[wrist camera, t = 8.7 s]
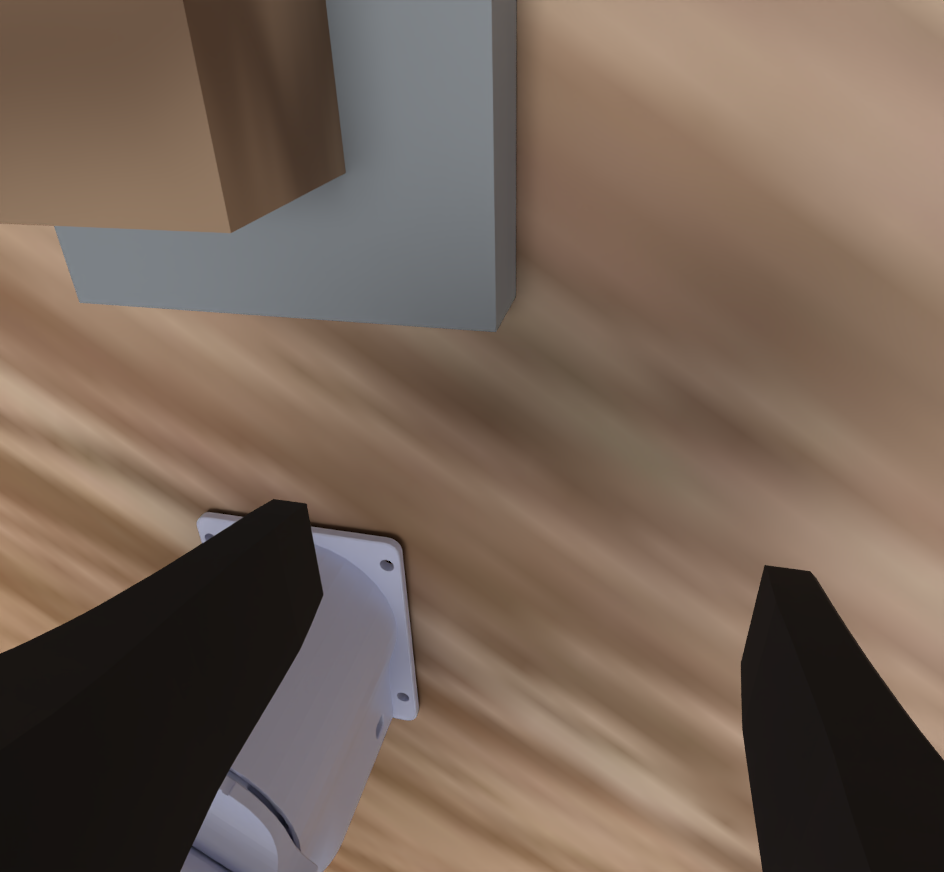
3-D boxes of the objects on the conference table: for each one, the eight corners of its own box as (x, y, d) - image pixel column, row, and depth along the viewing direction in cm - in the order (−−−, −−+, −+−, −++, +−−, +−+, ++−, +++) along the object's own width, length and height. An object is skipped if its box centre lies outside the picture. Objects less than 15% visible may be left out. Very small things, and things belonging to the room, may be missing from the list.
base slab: (515, 296, 19) (496, 332, 17) (136, 274, 22) (79, 302, 20) (516, -324, 13) (486, -384, 11) (-14, -250, 16) (-117, -287, 14)
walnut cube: (345, 172, 16) (230, 233, 12) (155, 168, 17) (-10, 223, 13) (313, -101, 14) (153, -143, 9) (92, -84, 15) (-139, -116, 11)
